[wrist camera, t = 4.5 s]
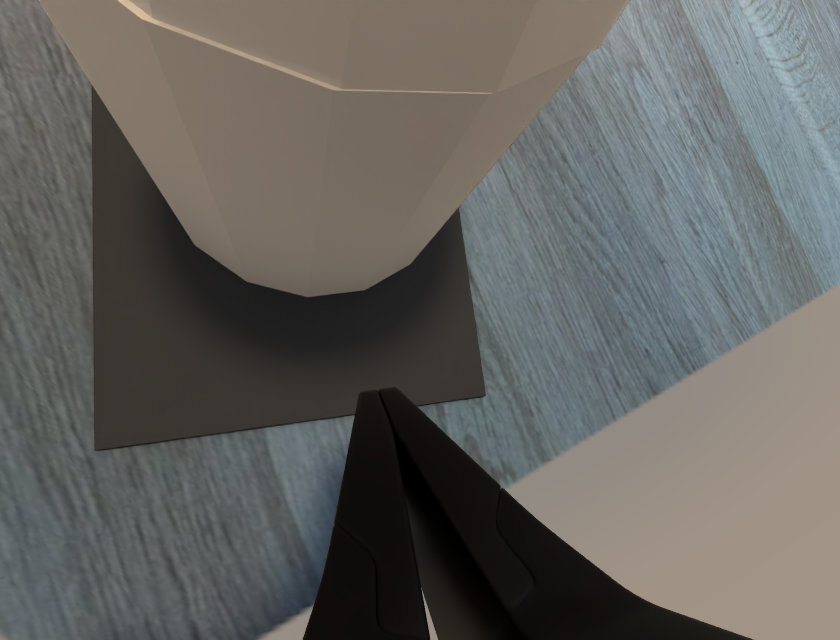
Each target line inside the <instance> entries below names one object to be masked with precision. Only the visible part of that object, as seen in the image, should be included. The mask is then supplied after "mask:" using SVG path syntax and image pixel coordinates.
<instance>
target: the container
mask: <svg viewBox="0 0 840 640" xmlns="http://www.w3.org/2000/svg"><path fill="white" fill-rule="evenodd" d="M38 1H39V3H40V4H41V6H42V7H43V9H44V11H45V12H46V14H47V15H48V17H49V18H50V20H51V21H52V23H53V25H54V26H55V28H56V29H57V31H58V32H59V34H60V36H61V37H62V39H63V40H64V42H65V43H66V45H67V46H68V48H69V50H70V51H71V53H72V54H73V56H74V57H75V59H76V61H77V62H78V64H79V65H80V67H81V68H82V70H83V71H84V73H85V75H86V76H87V78H88V79H89V81H90V82H91V84H92V85H93V87H94V89H95V90H96V92H97V93H98V95H99V96H100V98H101V100H102V101H103V103H104V104H105V106H106V107H107V109H108V110H109V112H110V114H111V115H112V117H113V118H114V120H115V121H116V123H117V125H118V126H119V128H120V129H121V131H122V132H123V134H124V135H125V137H126V139H127V140H128V142H129V143H130V145H131V146H132V148H133V149H134V151H135V153H136V154H137V156H138V157H139V159H140V160H141V162H142V164H143V165H144V167H145V168H146V170H147V171H148V173H149V174H150V176H151V178H152V179H153V181H154V182H155V184H156V185H157V187H158V189H159V190H160V192H161V193H162V195H163V196H164V198H165V199H166V201H167V203H168V204H169V206H170V207H171V209H172V210H173V212H174V213H175V215H176V217H177V218H178V220H179V221H180V223H181V224H182V226H183V228H184V229H185V231H186V232H187V234H188V235H189V237H190V238H191V240H192V242H193V243H194V245H195V246H197V247H198V248H200V249H201V250H202V251H204V252H205V253H207V254H208V255H210V256H211V257H212V258H214V259H215V260H217V261H218V262H220V263H221V264H222V265H224V266H225V267H227V268H228V269H229V270H231V271H232V272H234V273H235V274H237V275H238V276H239V277H241V278H242V279H244V280H245V281H246V282H250V283H254V284H257V285H261V286H265V287H269V288H273V289H277V290H281V291H285V292H289V293H293V294H297V295H301V296H305V297H313V296H321V295H329V294H337V293H346V292H354V291H362V290H366V289H368V288H370V287H371V286H373V285H375V284H377V283H378V282H380V281H382V280H384V279H385V278H387V277H389V276H391V275H392V274H394V273H396V272H398V271H399V270H401V269H403V268H405V267H406V266H408V265H410V264H411V263H412V261H413V260H414V259H415V258H416V257H417V256H418V254H419V253H420V252H421V251H422V250H423V249H424V247H425V246H426V245H427V244H428V243H429V241H430V240H431V239H432V238H433V237H434V236H435V234H436V233H437V232H438V231H439V230H440V228H441V227H442V226H443V225H444V224H445V223H446V221H447V220H448V219H449V218H450V217H451V215H452V214H453V213H454V212H455V211H456V210H457V208H458V207H459V206H460V205H461V204H462V203H463V201H464V200H465V199H466V198H467V197H468V195H469V194H470V193H471V192H472V191H473V190H474V188H475V187H476V186H477V185H478V184H479V182H480V181H481V180H482V179H483V178H484V177H485V175H486V174H487V173H488V172H489V171H490V169H491V168H492V167H493V166H494V165H495V164H496V162H497V161H498V160H499V159H500V158H501V156H502V155H503V154H504V153H505V152H506V151H507V149H508V148H509V147H510V146H511V145H512V144H513V142H514V141H515V140H516V139H517V138H518V136H519V135H520V134H521V133H522V132H523V131H524V129H525V128H526V127H527V126H528V125H529V123H530V122H531V121H532V120H533V119H534V118H535V116H536V115H537V114H538V113H539V112H540V110H541V109H542V108H543V107H544V106H545V105H546V103H547V102H548V101H549V100H550V99H551V98H552V96H553V95H554V94H555V93H556V92H557V90H558V89H559V88H560V87H561V86H562V85H563V83H564V82H565V81H566V80H567V79H568V77H569V76H570V75H571V74H572V73H573V72H574V70H575V69H576V68H577V67H578V66H579V64H580V63H581V62H582V61H583V60H584V59H585V57H586V56H587V55H588V54H589V53H590V52H591V51H593V50H595V49H597V48H599V46H600V45H601V43H602V42H603V40H604V39H605V37H606V36H607V34H608V33H609V31H610V30H611V29H612V27H613V26H614V24H615V23H616V21H617V20H618V18H619V17H620V15H621V14H622V12H623V11H624V9H625V8H626V7H627V5H628V4H629V2H630V1H631V0H38Z"/></svg>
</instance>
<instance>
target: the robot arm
mask: <svg viewBox="0 0 840 640" xmlns="http://www.w3.org/2000/svg"><path fill="white" fill-rule="evenodd" d="M500 488H501V487H500V485H499V484H498V483H497V482H496V481H495V480H494V479H493V478H492V477H491V476H490V475H489V474H487V473H486V472H485V471H484V470H483V469H482V468H481V467H480V466H479V465H478V464H477V463H476V462H475V461H474V460H473V459H472V458H471V457H470V456H469V455H467V454H466V453H465V452H464V451H463V450H462V449H461V448H460V447H459V446H458V445H457V444H456V443H455V442H454V441H453V440H452V439H451V438H450V437H448V436H447V435H446V434H445V433H444V432H443V431H442V430H441V429H440V428H439V427H438V426H437V425H436V424H435V423H434V422H433V421H432V420H431V419H429V418H428V417H427V416H426V415H425V414H424V413H423V412H422V411H421V410H420V409H419V408H418V407H417V406H416V405H415V404H414V403H413V402H412V401H410V400H409V399H408V398H407V397H406V396H405V395H404V394H403V393H402V392H401V391H400V390H399V389H398V388H396V387H390V388H383V389H380V390H378V391H377V390H368V391H361V392H360V393H359V397H358V402H357V407H356V412H355V418H354V423H353V428H352V433H351V438H350V444H349V449H348V454H347V459H346V464H345V470H344V475H343V480H342V485H341V490H340V496H339V501H338V506H337V511H336V516H335V522H334V527H333V531H332V536H331V541H330V547H329V551H328V555H327V560H326V564H325V568H324V573H323V576H322V580H321V583H320V587H319V590H318V593H317V597H316V600H315V603H314V607H313V610H312V613H311V616H310V619H309V622H308V625H307V628H306V631H305V634H304V637H303V640H430V635H429V629H428V623H427V618H426V612H425V606H424V601H423V595H422V590H423V593H424V597H425V600H426V603H427V606H428V609H429V612H430V615H431V618H432V621H433V624H434V627H435V631H436V634H437V637H438V640H753V639H750V638H747V637H744V636H742V635H738V634H736V633H733V632H730V631H727V630H724V629H722V628H719V627H716V626H713V625H710V624H707V623H704V622H701V621H699V620H696V619H693V618H690V617H687V616H685V615H682V614H679V613H676V612H673V611H671V610H668V609H665V608H662V607H660V606H657V605H655V604H652V603H650V602H648V601H646V600H644V599H642V598H640V597H639V596H637V595H635V594H633V593H632V592H630V591H629V590H627V589H625V588H624V587H623V586H621V585H620V584H618V583H617V582H616V581H615V580H613V579H612V578H611V577H609V576H608V575H607V574H605V573H604V572H603V571H602V570H600V569H599V568H598V567H597V566H595V565H594V564H593V563H591V562H590V561H589V560H587V559H586V558H585V557H584V556H583V555H581V554H580V553H579V552H577V551H576V550H575V549H573V548H572V547H571V546H570V545H568V544H567V543H566V542H564V541H563V540H562V539H561V538H559V537H558V536H557V535H556V534H555V533H553V532H552V531H551V530H550V529H548V528H547V527H546V526H545V525H543V524H542V523H541V522H540V521H539V520H537V519H536V518H535V517H534V516H533V515H532V514H531V513H529V512H528V511H527V510H526V509H525V508H524V507H523V506H522V505H521V504H519V503H518V502H517V501H516V500H515V499H514V498H513V497H512V496H511V495H510V494H509V493H508V492H507V491H506V490H505V489H503V488H501V489H500ZM421 587H422V589H421Z"/></svg>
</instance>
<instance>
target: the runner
mask: <svg viewBox="0 0 840 640" xmlns="http://www.w3.org/2000/svg"><path fill="white" fill-rule="evenodd" d="M92 170H93V302H94V434H95V450H102V449H109V448H116V447H124V446H131V445H138V444H145V443H152V442H159V441H166V440H174V439H181V438H188V437H195V436H202V435H209V434H217V433H224V432H231V431H238V430H245V429H252V428H259V427H267V426H274V425H281V424H288V423H295V422H302V421H310V420H317V419H324V418H331V417H338V416H345V415H352V414H355V412H356V407H357V402H358V397H359V393H360V392H361V391H368V390H377V391H378V390H380V389H383V388H390V387H396V388H398V389H399V390H400V391H401V392H402V393H403V394H404V395H405V396H406V397H407V398H408V399H409V400H410V401H412V402H413V403H414V404H415V405H416V406H417V405H424V404H431V403H438V402H445V401H453V400H460V399H467V398H474V397H481V396H486V394H485V387H484V380H483V373H482V366H481V359H480V353H479V346H478V339H477V332H476V325H475V318H474V311H473V304H472V297H471V290H470V283H469V276H468V270H467V263H466V256H465V249H464V242H463V235H462V228H461V221H460V214H459V207H458V208H457V210H456V211H455V212H454V213H453V214H452V215H451V217H450V218H449V219H448V220H447V221H446V223H445V224H444V225H443V226H442V227H441V228H440V230H439V231H438V232H437V233H436V234H435V236H434V237H433V238H432V239H431V240H430V241H429V243H428V244H427V245H426V246H425V247H424V249H423V250H422V251H421V252H420V253H419V254H418V256H417V257H416V258H415V259H414V260H413V261H412V263H411V264H410V265H408V266H406V267H405V268H403V269H401V270H399V271H398V272H396V273H394V274H392V275H391V276H389V277H387V278H385V279H384V280H382V281H380V282H378V283H377V284H375V285H373V286H371V287H370V288H368V289H366V290H362V291H354V292H346V293H337V294H329V295H321V296H313V297H305V296H301V295H297V294H293V293H289V292H285V291H281V290H277V289H273V288H269V287H265V286H261V285H257V284H254V283H250V282H246V281H245V280H244V279H242V278H241V277H239V276H238V275H237V274H235V273H234V272H232V271H231V270H229V269H228V268H227V267H225V266H224V265H222V264H221V263H220V262H218V261H217V260H215V259H214V258H212V257H211V256H210V255H208V254H207V253H205V252H204V251H202V250H201V249H200V248H198V247H197V246H195V245H194V243H193V242H192V240H191V238H190V237H189V235H188V234H187V232H186V231H185V229H184V228H183V226H182V224H181V223H180V221H179V220H178V218H177V217H176V215H175V213H174V212H173V210H172V209H171V207H170V206H169V204H168V203H167V201H166V199H165V198H164V196H163V195H162V193H161V192H160V190H159V189H158V187H157V185H156V184H155V182H154V181H153V179H152V178H151V176H150V174H149V173H148V171H147V170H146V168H145V167H144V165H143V164H142V162H141V160H140V159H139V157H138V156H137V154H136V153H135V151H134V149H133V148H132V146H131V145H130V143H129V142H128V140H127V139H126V137H125V135H124V134H123V132H122V131H121V129H120V128H119V126H118V125H117V123H116V121H115V120H114V118H113V117H112V115H111V114H110V112H109V110H108V109H107V107H106V106H105V104H104V103H103V101H102V100H101V98H100V96H99V95H98V93H97V92H96V90H95V89H94V87H93V85H92Z"/></svg>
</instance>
